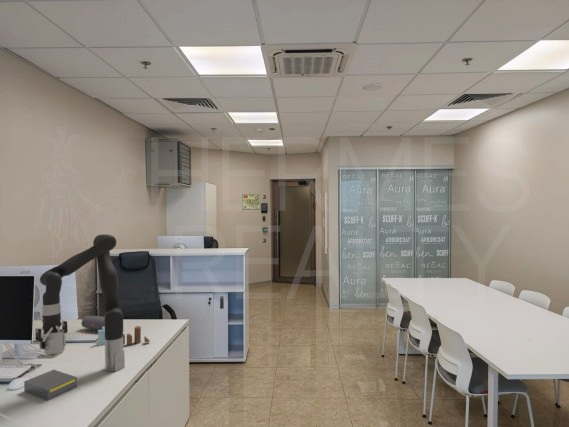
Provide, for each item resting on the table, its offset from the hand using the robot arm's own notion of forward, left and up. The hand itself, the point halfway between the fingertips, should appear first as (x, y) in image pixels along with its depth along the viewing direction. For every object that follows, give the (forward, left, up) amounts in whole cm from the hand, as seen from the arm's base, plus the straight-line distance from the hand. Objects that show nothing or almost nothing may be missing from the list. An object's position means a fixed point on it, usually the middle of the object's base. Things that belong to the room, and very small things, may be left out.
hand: (52, 345), depth 173 cm
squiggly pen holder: (+35, -57, -22) cm, 70 cm away
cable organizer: (0, 0, -4) cm, 4 cm away
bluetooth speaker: (+59, -67, -22) cm, 92 cm away
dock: (+2, 0, -22) cm, 22 cm away
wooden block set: (+12, -59, -22) cm, 64 cm away
